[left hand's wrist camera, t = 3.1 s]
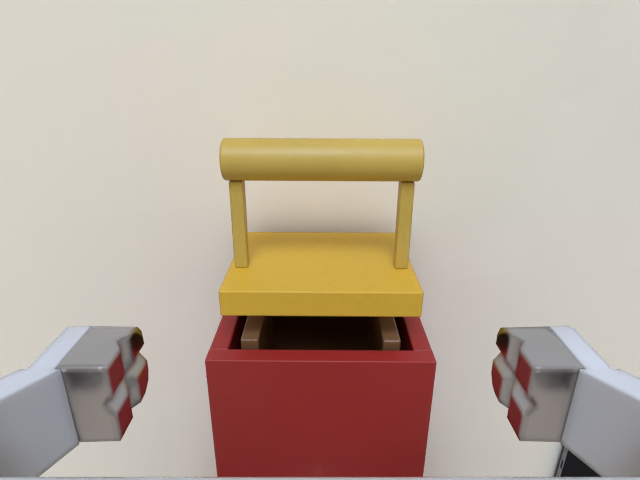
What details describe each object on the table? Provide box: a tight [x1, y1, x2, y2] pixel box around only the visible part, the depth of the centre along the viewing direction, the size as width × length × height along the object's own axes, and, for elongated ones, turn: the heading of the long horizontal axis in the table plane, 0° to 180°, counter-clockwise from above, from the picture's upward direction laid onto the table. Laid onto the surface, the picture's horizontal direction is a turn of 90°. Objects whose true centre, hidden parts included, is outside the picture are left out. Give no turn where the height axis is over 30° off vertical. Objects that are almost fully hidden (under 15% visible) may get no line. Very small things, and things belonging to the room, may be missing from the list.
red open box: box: [205, 316, 436, 477], centre depth 27 cm, size 18×10×9 cm, turn 0°
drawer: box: [219, 138, 424, 351], centre depth 24 cm, size 23×9×7 cm, turn 0°
